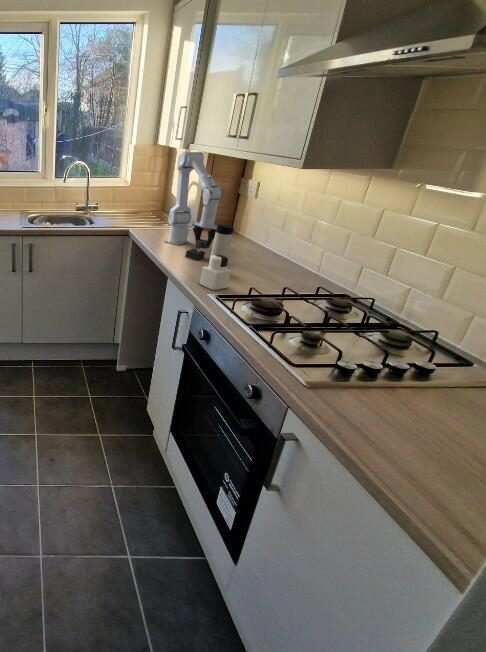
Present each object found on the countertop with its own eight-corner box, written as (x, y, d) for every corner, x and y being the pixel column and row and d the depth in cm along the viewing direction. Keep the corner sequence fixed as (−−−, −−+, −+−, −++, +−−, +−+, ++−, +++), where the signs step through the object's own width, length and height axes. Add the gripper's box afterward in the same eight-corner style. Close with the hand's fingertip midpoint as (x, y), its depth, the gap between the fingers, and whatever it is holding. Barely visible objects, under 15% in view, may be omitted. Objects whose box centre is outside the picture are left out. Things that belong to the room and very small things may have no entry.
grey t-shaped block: (199, 245, 194) (200, 238, 193) (209, 247, 191) (211, 241, 189) (192, 247, 191) (193, 241, 190) (202, 250, 187) (203, 243, 186)
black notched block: (192, 254, 194) (193, 248, 193) (203, 258, 190) (205, 251, 188) (185, 256, 191) (186, 250, 190) (197, 260, 187) (198, 253, 185)
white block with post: (213, 281, 162) (219, 252, 157) (227, 288, 156) (234, 257, 151) (199, 284, 160) (205, 254, 155) (213, 290, 154) (219, 260, 149)
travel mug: (203, 270, 174) (213, 223, 166) (214, 268, 177) (225, 222, 168) (215, 275, 169) (226, 227, 161) (227, 273, 172) (238, 225, 163)
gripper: (189, 213, 188) (183, 242, 194) (219, 218, 178) (213, 249, 183) (197, 211, 192) (192, 239, 198) (228, 216, 182) (221, 246, 187)
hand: (202, 244), depth 191 cm, fingers closed on grey t-shaped block, 5 cm apart
